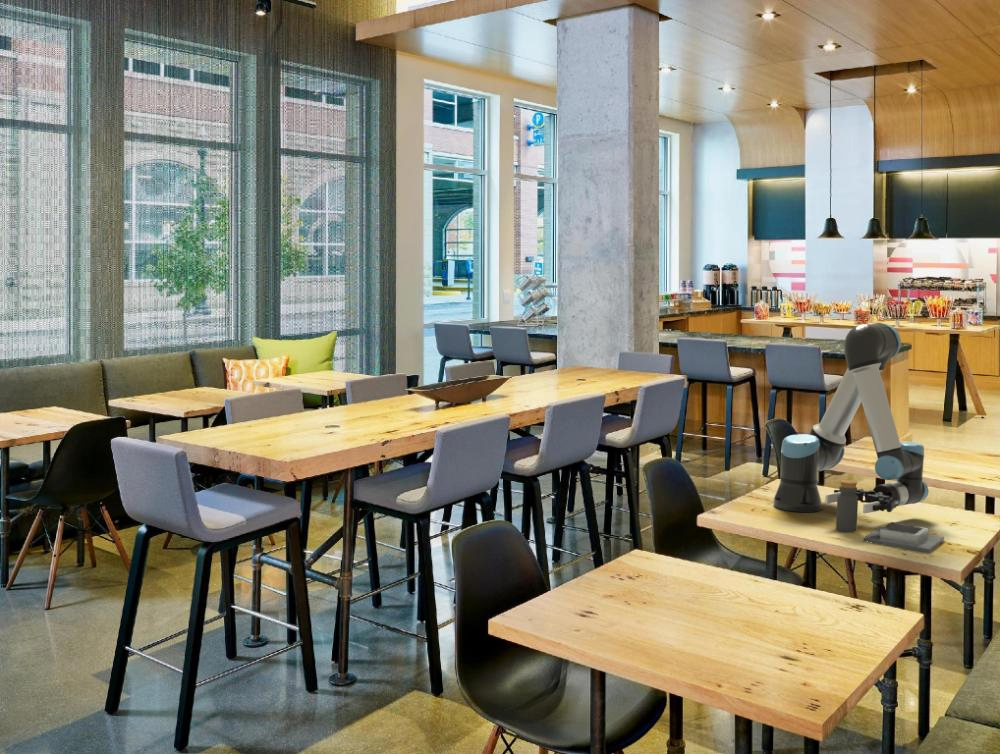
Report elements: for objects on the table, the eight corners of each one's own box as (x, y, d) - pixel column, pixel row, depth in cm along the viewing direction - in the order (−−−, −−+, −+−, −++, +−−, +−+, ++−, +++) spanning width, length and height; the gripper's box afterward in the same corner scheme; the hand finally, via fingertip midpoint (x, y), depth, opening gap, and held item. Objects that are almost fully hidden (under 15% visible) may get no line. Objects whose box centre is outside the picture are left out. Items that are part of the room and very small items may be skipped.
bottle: (832, 530, 295) (835, 481, 293) (839, 526, 300) (842, 478, 298) (852, 533, 291) (855, 484, 290) (858, 529, 296) (861, 481, 294)
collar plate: (863, 541, 284) (864, 528, 283) (880, 530, 296) (881, 518, 296) (928, 553, 273) (929, 540, 272) (943, 540, 285) (944, 528, 285)
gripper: (924, 516, 295) (880, 525, 283) (854, 498, 315) (810, 506, 304) (926, 491, 294) (881, 500, 282) (856, 476, 315) (812, 483, 303)
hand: (844, 503), depth 293 cm, fingers open, 13 cm apart
